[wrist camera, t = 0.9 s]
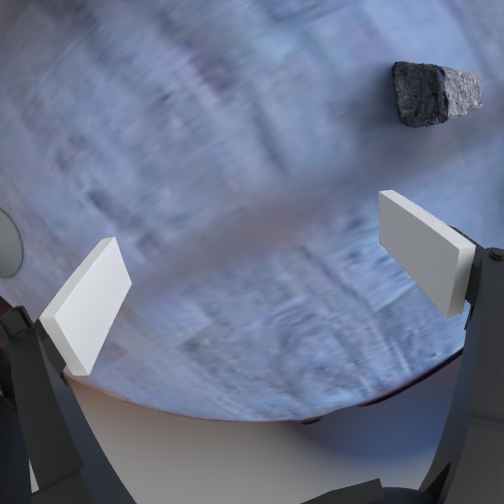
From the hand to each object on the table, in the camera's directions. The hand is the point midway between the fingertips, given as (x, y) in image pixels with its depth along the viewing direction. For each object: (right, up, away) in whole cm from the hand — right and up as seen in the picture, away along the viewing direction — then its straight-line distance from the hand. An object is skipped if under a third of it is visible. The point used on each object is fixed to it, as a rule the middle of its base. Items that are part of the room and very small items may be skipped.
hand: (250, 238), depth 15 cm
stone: (+23, +22, +21) cm, 38 cm away
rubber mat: (-44, +1, +26) cm, 51 cm away
